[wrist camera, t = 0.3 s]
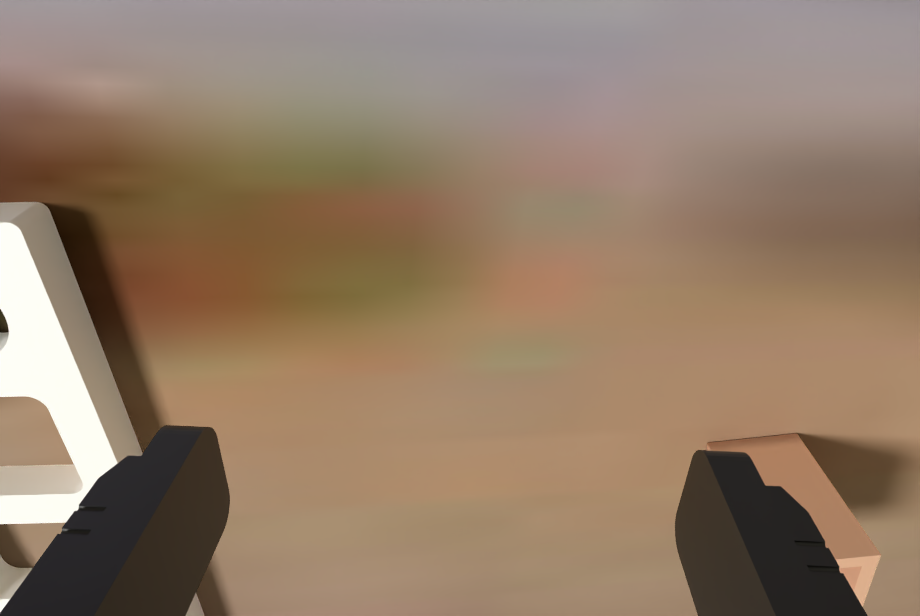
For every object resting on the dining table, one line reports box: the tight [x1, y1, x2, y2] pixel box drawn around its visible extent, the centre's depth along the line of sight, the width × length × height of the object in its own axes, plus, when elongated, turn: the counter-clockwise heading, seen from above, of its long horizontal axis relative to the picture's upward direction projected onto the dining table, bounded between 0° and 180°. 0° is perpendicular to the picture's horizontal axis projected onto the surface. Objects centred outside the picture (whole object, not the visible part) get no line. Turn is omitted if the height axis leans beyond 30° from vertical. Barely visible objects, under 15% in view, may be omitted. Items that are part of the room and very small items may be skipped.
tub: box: [707, 433, 881, 607], centre depth 33 cm, size 5×5×8 cm
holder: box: [0, 202, 205, 616], centre depth 38 cm, size 45×18×3 cm, turn 1°
